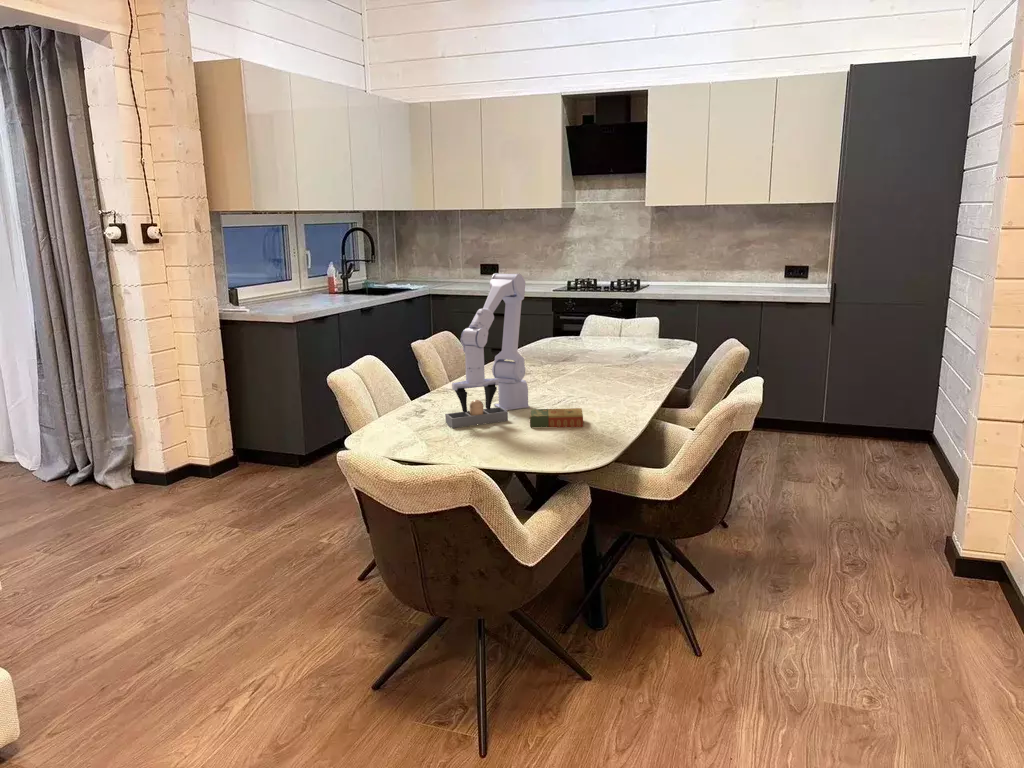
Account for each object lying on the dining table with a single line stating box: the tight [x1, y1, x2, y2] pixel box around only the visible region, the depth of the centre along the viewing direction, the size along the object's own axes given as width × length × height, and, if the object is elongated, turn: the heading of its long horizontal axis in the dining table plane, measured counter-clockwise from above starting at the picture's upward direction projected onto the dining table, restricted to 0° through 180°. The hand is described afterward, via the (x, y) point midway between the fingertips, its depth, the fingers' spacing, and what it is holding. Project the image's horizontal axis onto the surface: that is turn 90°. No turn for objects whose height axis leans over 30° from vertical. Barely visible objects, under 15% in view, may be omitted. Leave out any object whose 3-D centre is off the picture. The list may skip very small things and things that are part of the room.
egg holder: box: [445, 406, 509, 429], centre depth 231 cm, size 18×6×3 cm, turn 113°
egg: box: [469, 399, 484, 416], centre depth 231 cm, size 4×4×6 cm
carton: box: [529, 407, 584, 429], centre depth 228 cm, size 8×16×4 cm, turn 88°
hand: (476, 410), depth 231 cm, fingers open, 7 cm apart
